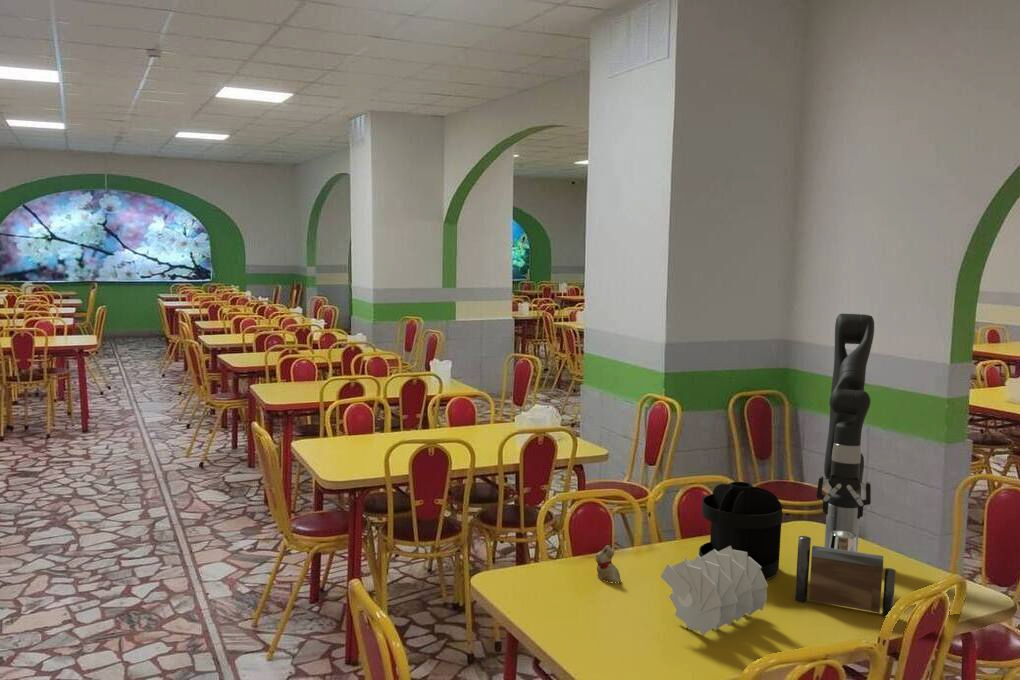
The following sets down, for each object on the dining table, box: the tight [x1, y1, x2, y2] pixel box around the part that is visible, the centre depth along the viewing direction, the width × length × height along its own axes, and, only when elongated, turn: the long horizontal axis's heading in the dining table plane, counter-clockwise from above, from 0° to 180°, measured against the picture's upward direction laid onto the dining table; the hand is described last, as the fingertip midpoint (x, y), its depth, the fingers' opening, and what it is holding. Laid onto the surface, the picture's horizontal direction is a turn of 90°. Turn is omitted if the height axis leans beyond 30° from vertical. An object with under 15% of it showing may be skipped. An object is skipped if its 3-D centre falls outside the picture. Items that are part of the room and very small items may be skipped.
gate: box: [808, 545, 884, 614], centre depth 219 cm, size 3×17×14 cm, turn 66°
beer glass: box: [829, 530, 856, 552], centre depth 234 cm, size 7×7×15 cm
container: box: [698, 481, 783, 581], centre depth 245 cm, size 22×23×25 cm
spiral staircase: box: [660, 546, 769, 636], centre depth 208 cm, size 18×18×25 cm
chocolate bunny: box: [595, 544, 622, 584], centre depth 235 cm, size 6×8×10 cm
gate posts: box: [794, 535, 897, 618], centre depth 219 cm, size 3×24×17 cm, turn 66°
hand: (842, 516), depth 242 cm, fingers open, 8 cm apart
